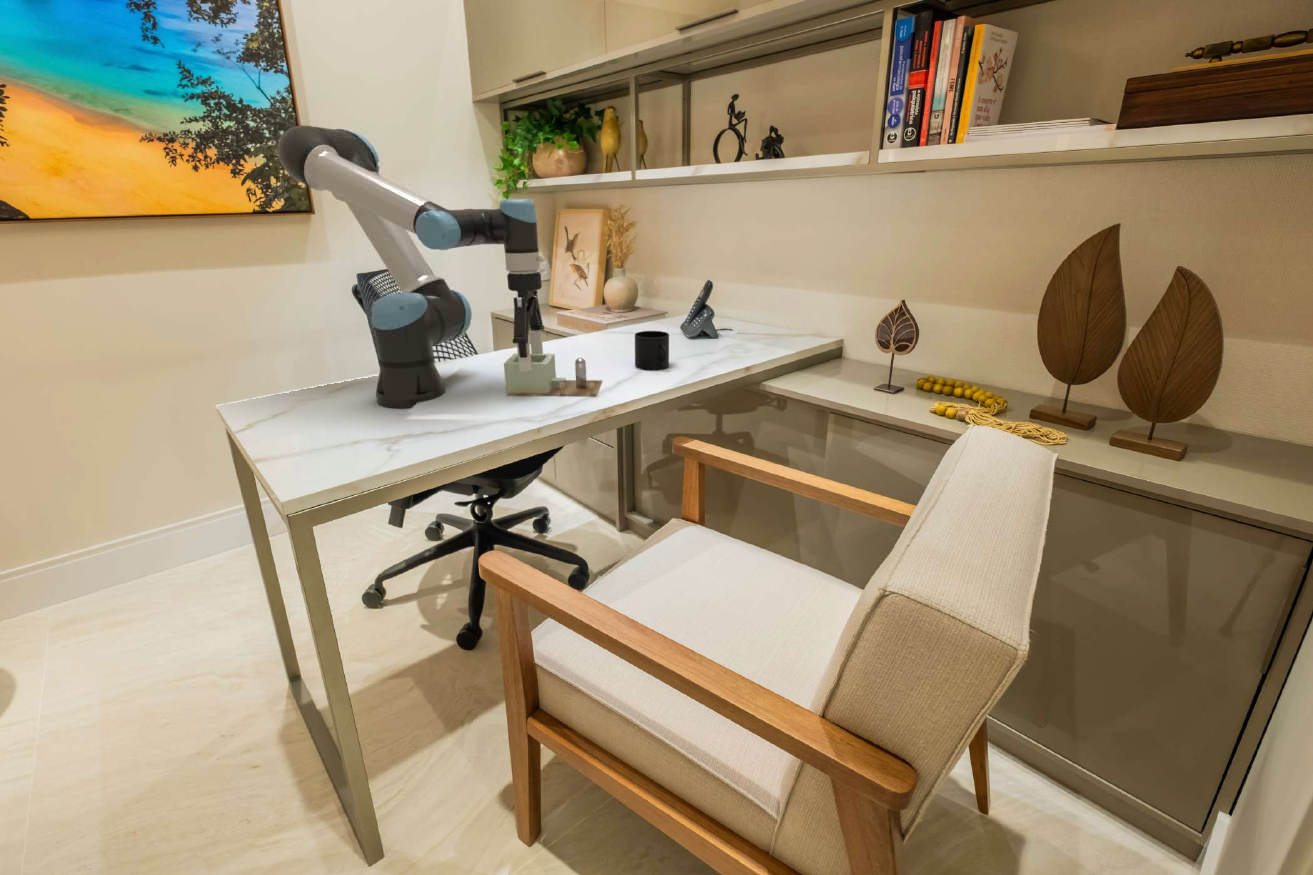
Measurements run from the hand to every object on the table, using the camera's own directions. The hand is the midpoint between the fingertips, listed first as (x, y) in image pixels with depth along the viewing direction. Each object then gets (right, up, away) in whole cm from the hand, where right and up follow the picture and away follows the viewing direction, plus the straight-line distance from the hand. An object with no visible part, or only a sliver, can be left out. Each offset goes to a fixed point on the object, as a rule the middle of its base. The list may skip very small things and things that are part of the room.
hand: (531, 363), depth 149 cm
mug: (+29, +2, +25) cm, 38 cm away
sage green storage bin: (+1, -5, +2) cm, 6 cm away
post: (+12, -5, +2) cm, 13 cm away
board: (+6, -7, +2) cm, 9 cm away
